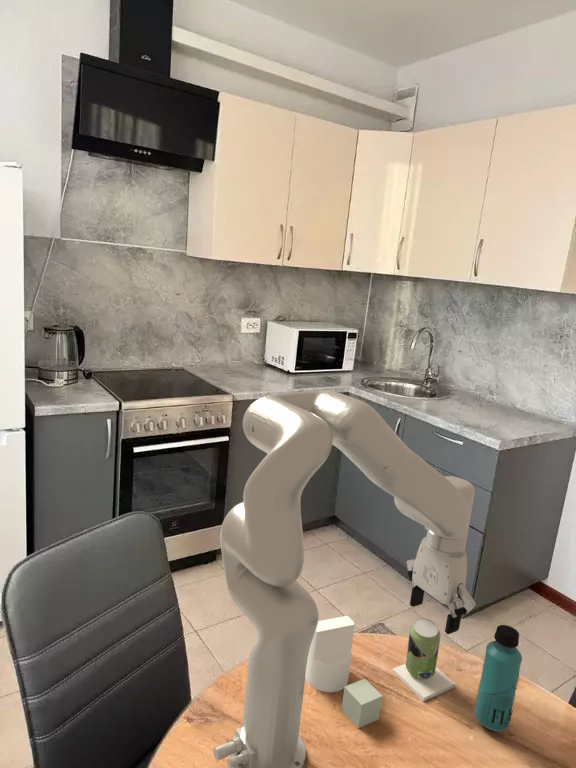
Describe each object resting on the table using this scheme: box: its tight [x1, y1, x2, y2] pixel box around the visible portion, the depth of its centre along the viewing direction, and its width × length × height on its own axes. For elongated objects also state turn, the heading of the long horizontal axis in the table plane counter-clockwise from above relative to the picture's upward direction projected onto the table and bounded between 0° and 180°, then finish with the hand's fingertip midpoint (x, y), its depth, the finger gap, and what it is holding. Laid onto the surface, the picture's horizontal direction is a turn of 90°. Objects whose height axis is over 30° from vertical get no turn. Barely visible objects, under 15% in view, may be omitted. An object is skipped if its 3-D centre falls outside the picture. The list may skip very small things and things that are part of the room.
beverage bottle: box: [474, 624, 523, 732], centre depth 103 cm, size 6×7×20 cm
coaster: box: [392, 663, 456, 702], centre depth 115 cm, size 9×9×1 cm
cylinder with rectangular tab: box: [305, 615, 356, 693], centre depth 112 cm, size 9×9×12 cm
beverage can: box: [405, 618, 441, 679], centre depth 114 cm, size 6×7×12 cm
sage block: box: [341, 678, 383, 729], centre depth 104 cm, size 5×5×5 cm
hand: (433, 617), depth 112 cm, fingers open, 9 cm apart
